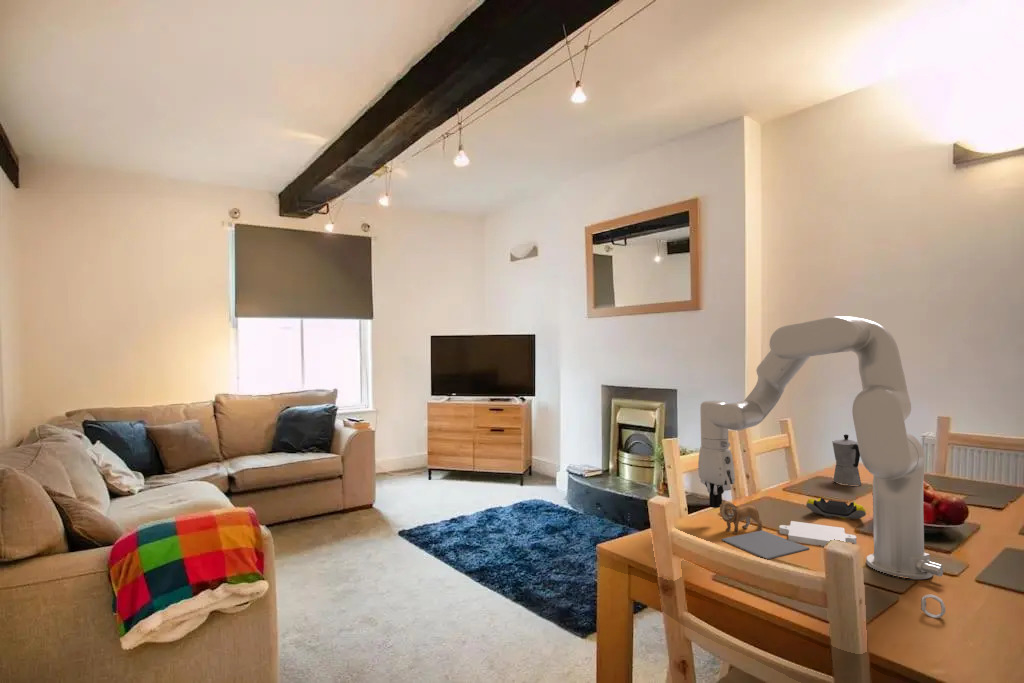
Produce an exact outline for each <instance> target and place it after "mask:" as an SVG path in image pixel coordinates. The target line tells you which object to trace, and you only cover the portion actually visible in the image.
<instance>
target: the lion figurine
mask: <svg viewBox="0 0 1024 683" xmlns="http://www.w3.org/2000/svg"><path fill="white" fill-rule="evenodd" d="M719 511H720V512H719V513H720V516H721V518H722V520H723V521H724V522H726V526H727V528H725V531H726V532H730V531H731V530H732V527H731V526H732V525H731V524H732V523H733V525H734V526H733V528H734V530H733V534H735V535H739V524H740V523H739V522H743V521H745V522H746V523H745V524H744V525H742V526H741V527H742V528H744V529H747V528H748V527H749V526H750V524H751V519H752V521H754V522H755V523H756V524H757V525H758V527H757V528H756V529H757V531H761V530H763V524H762V521H761V519H760V514H759V511H758V509H757V508H756V507H755V506H754V505H749V504H748V505H745V506H741V507H738V506H736V505H735V504H734V503H732V502H731V501H730V500H726V501H722V504H721V505H720V507H719Z"/></svg>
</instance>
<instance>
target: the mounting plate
mask: <svg viewBox="0 0 1024 683" xmlns="http://www.w3.org/2000/svg"><path fill="white" fill-rule="evenodd" d="M778 529H779V534H781V535H787V536H788V538H787V540H790V541H793V542H795V543H798V544H808V545H812V546H813V545H814V546H819V545H821V546H820V547H826V546H825V545H826V544H827V543H828V542H829V541H830V540H834V539H835V540H840V541H844V542H851V543H854V544H853V545H856V544H857V535H854V534H851V533H850V534H849V533H846V531H845V528H844V527H840V526H839V527H838V526H833V525H832V526H831V525H824V524H818V523H810V522H803V521H802V522H801V521H794V520H791V521H790V524H789V525H785V524H781V525H779V528H778Z"/></svg>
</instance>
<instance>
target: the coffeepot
mask: <svg viewBox="0 0 1024 683" xmlns="http://www.w3.org/2000/svg"><path fill="white" fill-rule="evenodd" d="M849 436H850V435H849V434H846V433H845V434H843V438H844V439H843V438H842V439H835V440H832V442H831V443H832V447H833V452H834V458H835V468H834V474H833V479H832V480H834V482H838V483H842V484H848V485H861V486H862V480H861V477H860V476H861V475H860V470H859V462H860V460H861V457H860V452H859V447H858V442H857V441H855V440H851V439H849ZM834 482H833V483H834Z"/></svg>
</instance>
